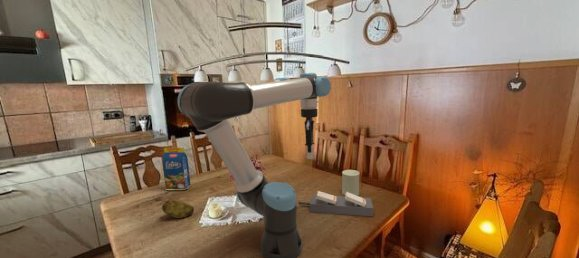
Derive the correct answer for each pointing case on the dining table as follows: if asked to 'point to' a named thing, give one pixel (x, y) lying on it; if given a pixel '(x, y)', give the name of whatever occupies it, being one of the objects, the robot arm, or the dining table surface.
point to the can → (350, 182)
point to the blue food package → (175, 168)
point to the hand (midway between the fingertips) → (309, 158)
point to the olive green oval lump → (177, 208)
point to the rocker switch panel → (340, 206)
